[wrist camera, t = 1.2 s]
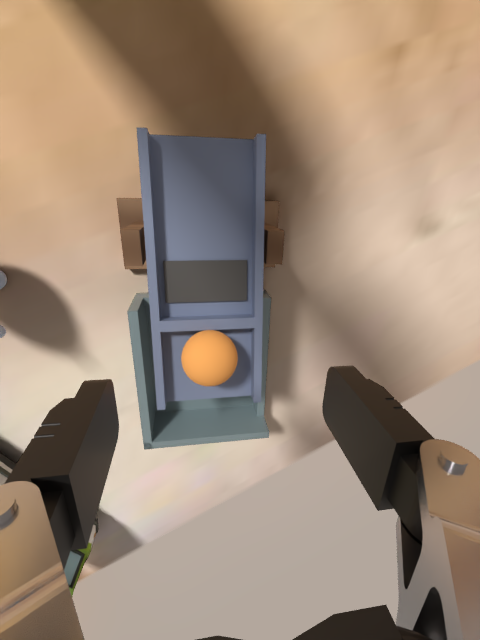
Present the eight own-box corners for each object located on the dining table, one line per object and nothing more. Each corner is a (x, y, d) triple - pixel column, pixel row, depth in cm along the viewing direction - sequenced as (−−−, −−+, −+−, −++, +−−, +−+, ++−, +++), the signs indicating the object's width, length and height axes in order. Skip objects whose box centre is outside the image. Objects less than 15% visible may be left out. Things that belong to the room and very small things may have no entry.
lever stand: (119, 198, 27) (93, 200, 20) (276, 200, 29) (305, 204, 22) (127, 266, 29) (106, 291, 22) (272, 264, 31) (298, 287, 24)
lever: (142, 138, 21) (136, 127, 19) (258, 144, 22) (266, 134, 20) (159, 396, 26) (157, 410, 24) (255, 389, 27) (261, 402, 25)
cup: (136, 293, 30) (127, 311, 26) (265, 290, 32) (277, 306, 28) (149, 416, 36) (144, 449, 31) (259, 407, 38) (268, 437, 33)
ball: (181, 328, 24) (178, 335, 20) (233, 326, 24) (240, 332, 21) (183, 379, 24) (181, 396, 20) (234, 376, 25) (242, 391, 21)
